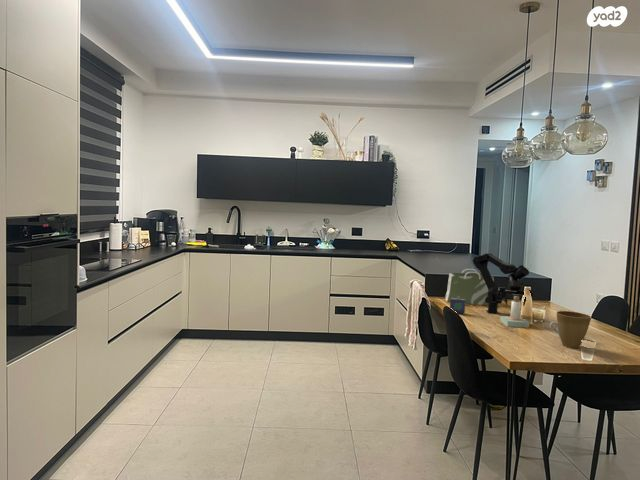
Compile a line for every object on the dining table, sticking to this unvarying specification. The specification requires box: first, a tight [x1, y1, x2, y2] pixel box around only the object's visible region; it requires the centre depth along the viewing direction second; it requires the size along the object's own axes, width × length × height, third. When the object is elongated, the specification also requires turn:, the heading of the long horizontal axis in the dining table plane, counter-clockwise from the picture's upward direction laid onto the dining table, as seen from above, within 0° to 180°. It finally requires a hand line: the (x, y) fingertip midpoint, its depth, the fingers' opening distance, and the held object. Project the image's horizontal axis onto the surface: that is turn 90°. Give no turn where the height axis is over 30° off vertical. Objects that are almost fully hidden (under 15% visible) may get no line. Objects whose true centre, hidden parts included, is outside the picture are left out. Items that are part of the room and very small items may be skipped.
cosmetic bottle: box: [509, 295, 522, 320], centre depth 263 cm, size 5×5×13 cm
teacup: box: [549, 321, 560, 337], centre depth 241 cm, size 14×11×8 cm
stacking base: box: [499, 315, 531, 329], centre depth 263 cm, size 12×12×3 cm
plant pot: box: [556, 310, 592, 349], centre depth 225 cm, size 15×15×16 cm
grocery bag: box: [444, 268, 495, 306], centre depth 318 cm, size 32×14×23 cm, turn 82°
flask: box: [449, 296, 466, 315], centre depth 283 cm, size 9×3×11 cm, turn 88°
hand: (515, 305), depth 264 cm, fingers open, 9 cm apart
